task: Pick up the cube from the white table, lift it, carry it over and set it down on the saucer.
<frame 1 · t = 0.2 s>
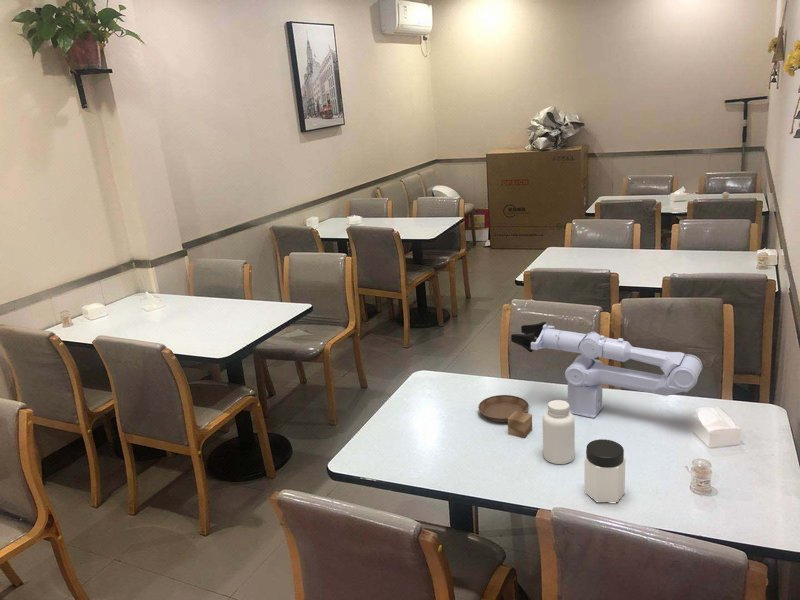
hand: (516, 333, 190), 21 cm above the table, tool horizontal, fingers open, 7 cm apart
pill bottle: (558, 457, 163), on the table
jar: (604, 494, 147), on the table
cube: (520, 432, 176), on the table
saucer: (503, 414, 188), on the table
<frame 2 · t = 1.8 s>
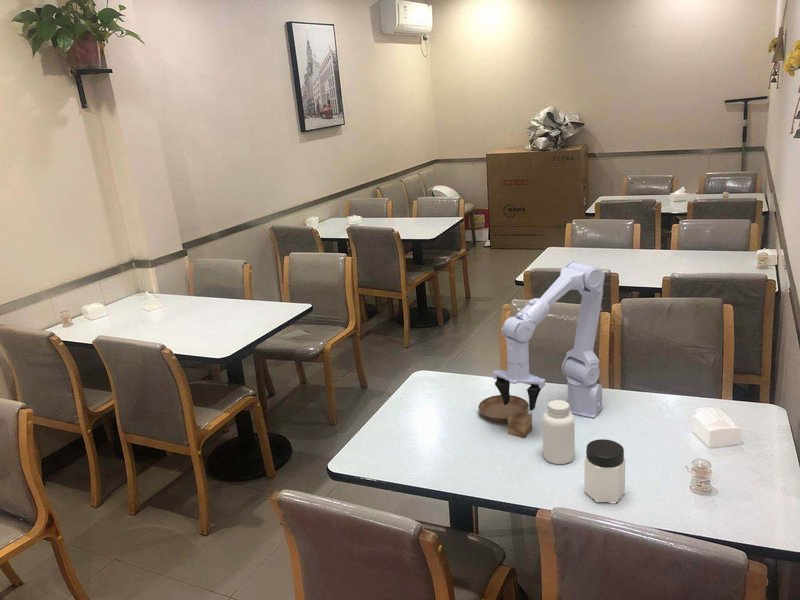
hand: (519, 406, 174), 8 cm above the table, tool pointing down, fingers open, 7 cm apart
nothing on the table moved.
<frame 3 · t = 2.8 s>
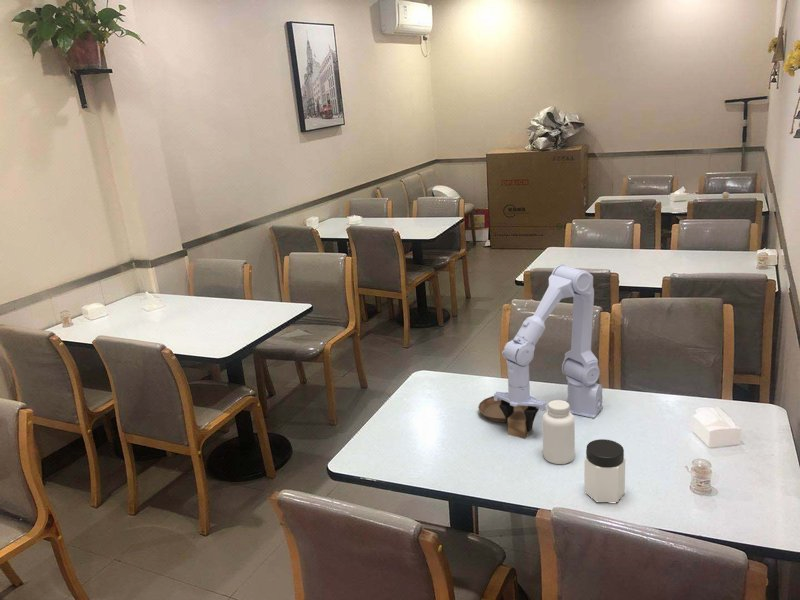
hand: (520, 427, 176), 1 cm above the table, tool pointing down, fingers closed on cube, 5 cm apart
cube: (520, 432, 176), on the table, touching gripper
everything else where it was.
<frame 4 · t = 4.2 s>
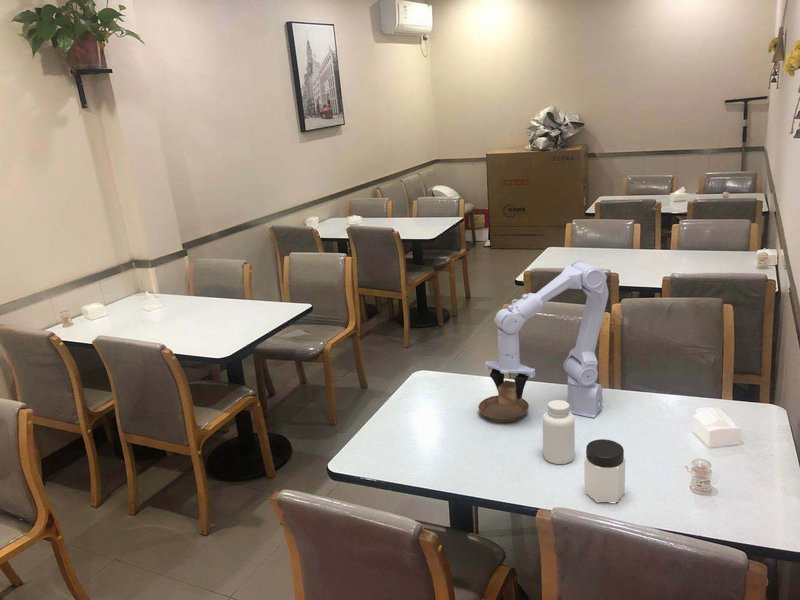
hand: (510, 395, 180), 8 cm above the table, tool pointing down, fingers closed on cube, 5 cm apart
cube: (510, 401, 180), point 7 cm above the table, touching gripper
everything else where it was.
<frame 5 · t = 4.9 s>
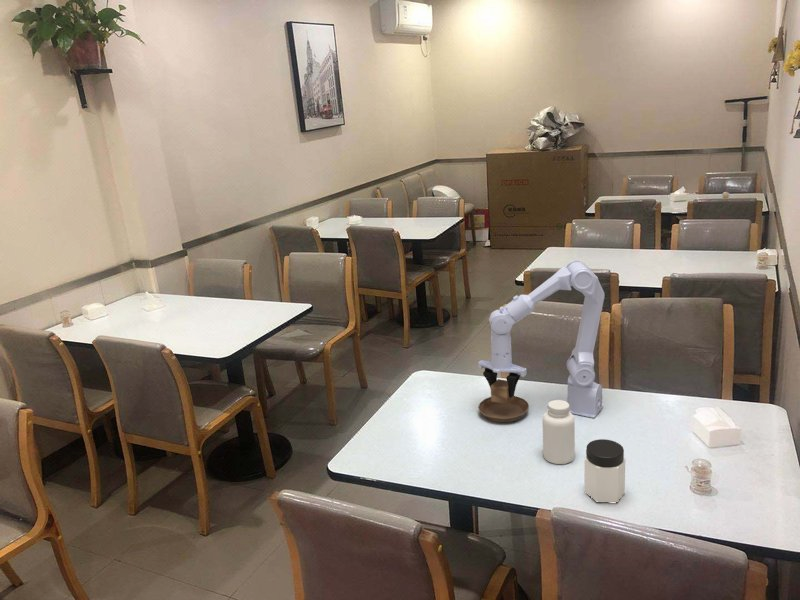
hand: (502, 394, 186), 6 cm above the table, tool pointing down, fingers closed on cube, 5 cm apart
cube: (502, 399, 186), point 5 cm above the table, touching gripper
everything else where it was.
when the fingers open (5 cm above the table, at t = 5.6 s): cube drops 1 cm, resting on saucer.
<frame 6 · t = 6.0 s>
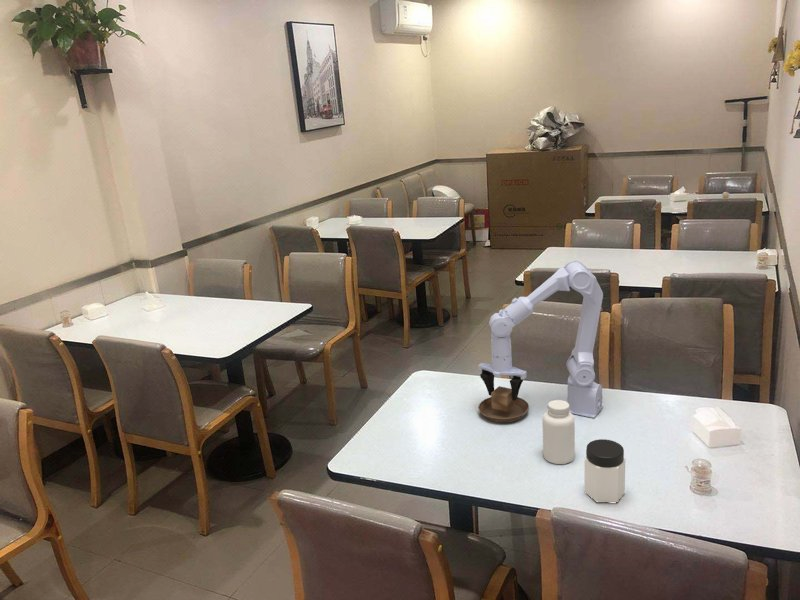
hand: (503, 396, 186), 5 cm above the table, tool pointing down, fingers open, 7 cm apart
cube: (503, 406, 187), point 2 cm above the table, touching saucer
saucer: (503, 414, 188), on the table, touching cube
everything else where it was.
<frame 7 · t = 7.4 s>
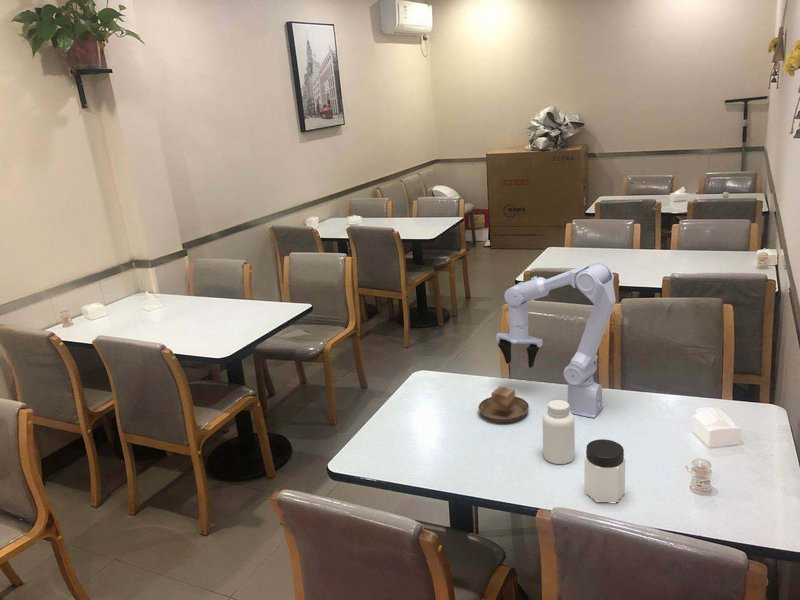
hand: (519, 364, 196), 10 cm above the table, tool pointing down, fingers open, 7 cm apart
nothing on the table moved.
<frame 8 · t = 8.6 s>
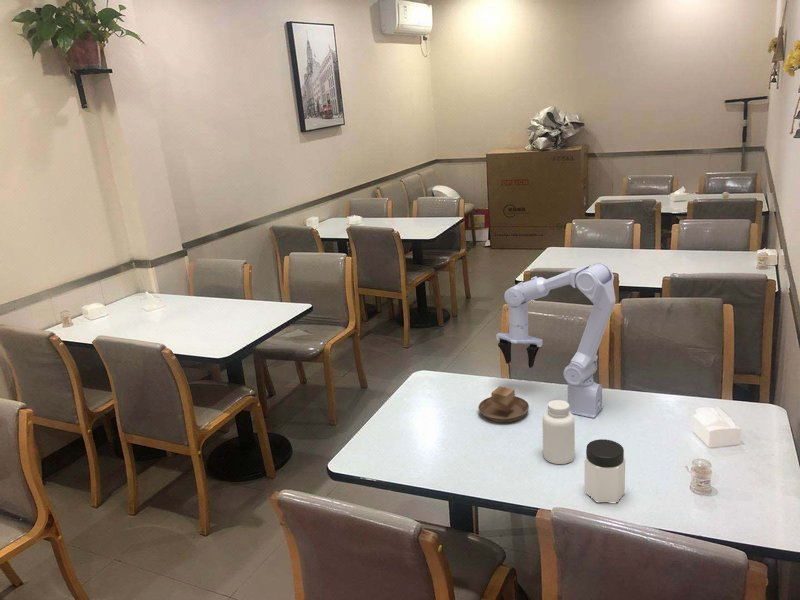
hand: (519, 364, 196), 10 cm above the table, tool pointing down, fingers open, 7 cm apart
nothing on the table moved.
at the end: cube 0.2 cm from the saucer (horizontally); cube touching saucer; the gripper is holding nothing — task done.
